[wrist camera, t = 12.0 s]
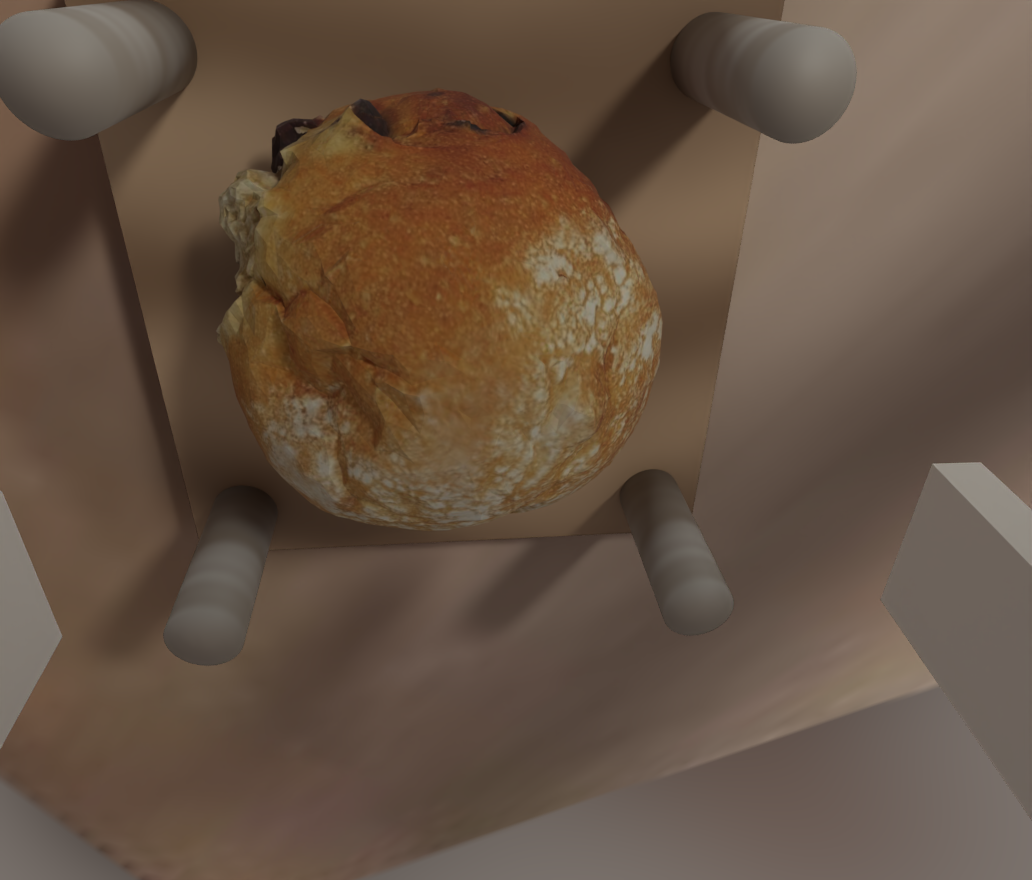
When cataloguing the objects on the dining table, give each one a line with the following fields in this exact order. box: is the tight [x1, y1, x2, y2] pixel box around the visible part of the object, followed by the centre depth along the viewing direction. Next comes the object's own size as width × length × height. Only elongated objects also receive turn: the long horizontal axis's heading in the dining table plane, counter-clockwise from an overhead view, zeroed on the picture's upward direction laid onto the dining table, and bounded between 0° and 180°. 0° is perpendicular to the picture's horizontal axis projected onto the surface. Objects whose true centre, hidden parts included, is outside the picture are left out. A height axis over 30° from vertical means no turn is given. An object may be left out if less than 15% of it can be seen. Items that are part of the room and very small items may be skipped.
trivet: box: [0, 0, 857, 666], centre depth 18 cm, size 15×15×6 cm
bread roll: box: [216, 88, 663, 531], centre depth 18 cm, size 10×10×8 cm
